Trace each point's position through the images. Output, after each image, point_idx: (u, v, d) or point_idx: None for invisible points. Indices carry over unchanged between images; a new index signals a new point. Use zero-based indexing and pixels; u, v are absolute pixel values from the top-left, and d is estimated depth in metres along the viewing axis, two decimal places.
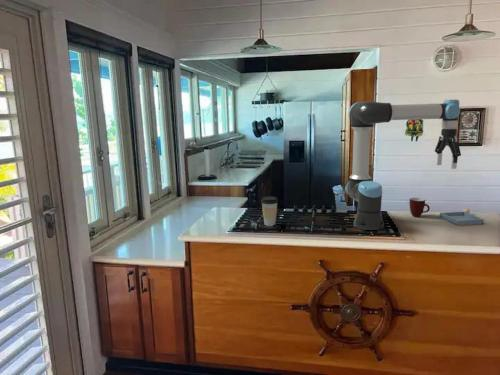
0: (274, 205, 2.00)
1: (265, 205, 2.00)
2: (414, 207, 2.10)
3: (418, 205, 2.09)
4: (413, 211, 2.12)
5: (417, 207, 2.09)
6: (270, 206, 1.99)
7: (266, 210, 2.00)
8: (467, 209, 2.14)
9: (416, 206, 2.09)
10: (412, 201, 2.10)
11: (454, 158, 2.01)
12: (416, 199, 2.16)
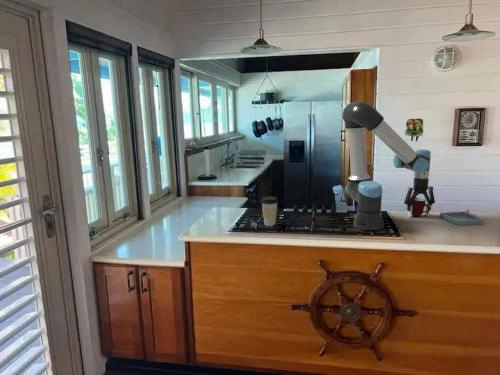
0: (274, 205, 2.00)
1: (265, 205, 2.00)
2: (414, 207, 2.10)
3: (418, 205, 2.09)
4: (413, 211, 2.11)
5: (417, 207, 2.09)
6: (270, 206, 1.99)
7: (266, 210, 2.00)
8: (467, 209, 2.14)
9: (416, 206, 2.09)
10: (413, 201, 2.10)
11: None
12: (417, 199, 2.16)
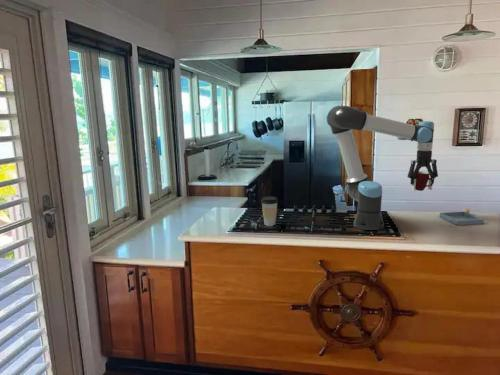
0: (274, 205, 2.00)
1: (265, 205, 2.00)
2: (418, 180, 2.07)
3: (422, 178, 2.05)
4: (416, 184, 2.08)
5: (421, 180, 2.06)
6: (270, 206, 1.99)
7: (266, 210, 2.00)
8: (467, 209, 2.14)
9: (420, 179, 2.06)
10: None
11: None
12: (420, 173, 2.12)
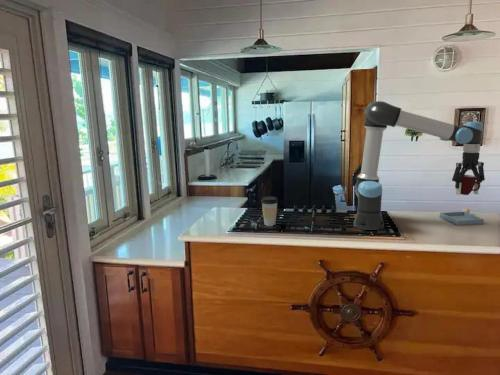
0: (274, 205, 2.00)
1: (265, 205, 2.00)
2: (464, 183, 1.95)
3: (468, 181, 1.94)
4: (462, 188, 1.96)
5: (467, 184, 1.94)
6: (270, 206, 1.99)
7: (266, 210, 2.00)
8: (467, 209, 2.14)
9: (466, 182, 1.94)
10: None
11: None
12: (465, 176, 2.01)
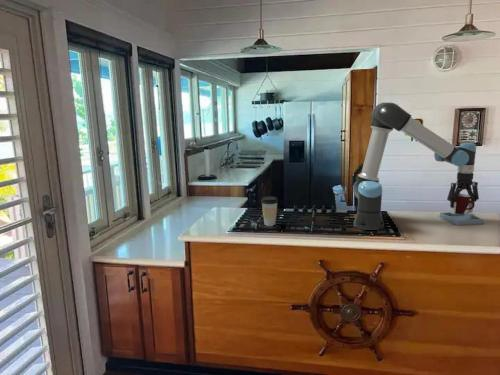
0: (274, 205, 2.00)
1: (265, 205, 2.00)
2: (458, 203, 2.00)
3: (463, 201, 1.99)
4: (457, 207, 2.01)
5: (462, 203, 1.99)
6: (270, 206, 1.99)
7: (266, 210, 2.00)
8: None
9: (461, 202, 1.99)
10: (457, 196, 2.01)
11: None
12: (460, 195, 2.06)
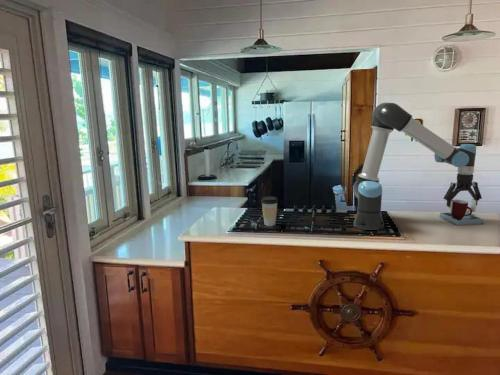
0: (274, 205, 2.00)
1: (265, 205, 2.00)
2: (456, 209, 2.01)
3: (461, 207, 1.99)
4: (454, 213, 2.02)
5: (459, 209, 2.00)
6: (270, 206, 1.99)
7: (266, 210, 2.00)
8: (467, 209, 2.14)
9: (458, 208, 2.00)
10: (454, 203, 2.01)
11: None
12: (458, 201, 2.06)
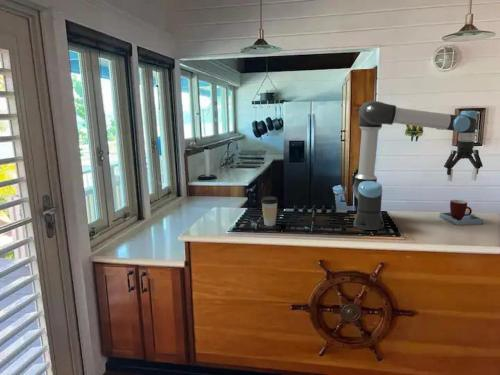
0: (274, 205, 2.00)
1: (265, 205, 2.00)
2: (455, 210, 2.01)
3: (460, 208, 1.99)
4: (454, 214, 2.02)
5: (459, 210, 2.00)
6: (270, 206, 1.99)
7: (266, 210, 2.00)
8: (467, 209, 2.14)
9: (458, 209, 2.00)
10: (453, 203, 2.01)
11: None
12: (457, 201, 2.06)
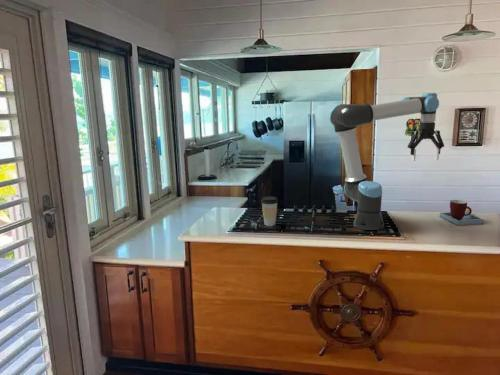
0: (274, 205, 2.00)
1: (265, 205, 2.00)
2: (455, 210, 2.01)
3: (460, 208, 1.99)
4: (454, 214, 2.02)
5: (459, 210, 2.00)
6: (270, 206, 1.99)
7: (266, 210, 2.00)
8: (467, 209, 2.14)
9: (458, 209, 2.00)
10: (453, 203, 2.01)
11: None
12: (457, 201, 2.06)
